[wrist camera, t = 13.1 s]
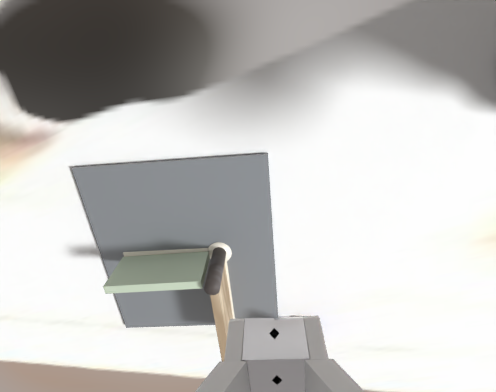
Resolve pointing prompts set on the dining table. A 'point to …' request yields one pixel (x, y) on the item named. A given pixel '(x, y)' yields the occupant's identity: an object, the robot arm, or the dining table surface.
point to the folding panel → (159, 273)
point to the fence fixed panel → (219, 296)
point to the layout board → (186, 230)
